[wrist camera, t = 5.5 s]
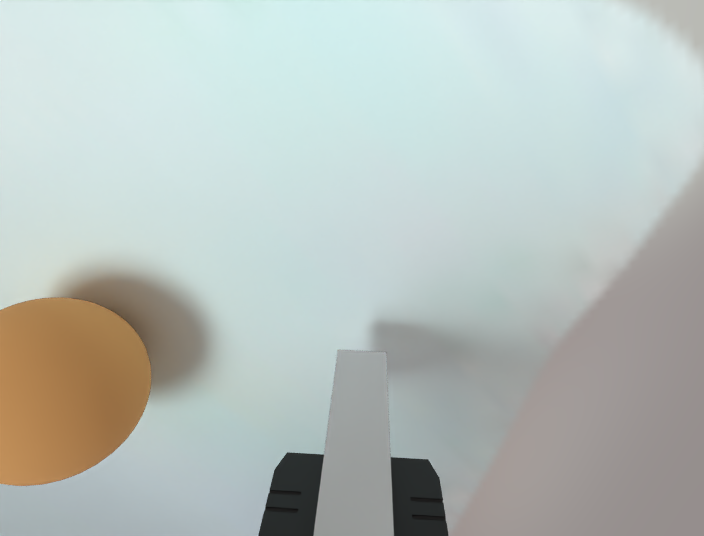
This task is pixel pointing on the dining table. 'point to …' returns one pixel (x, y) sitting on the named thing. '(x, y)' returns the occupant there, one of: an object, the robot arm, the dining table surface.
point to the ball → (66, 388)
